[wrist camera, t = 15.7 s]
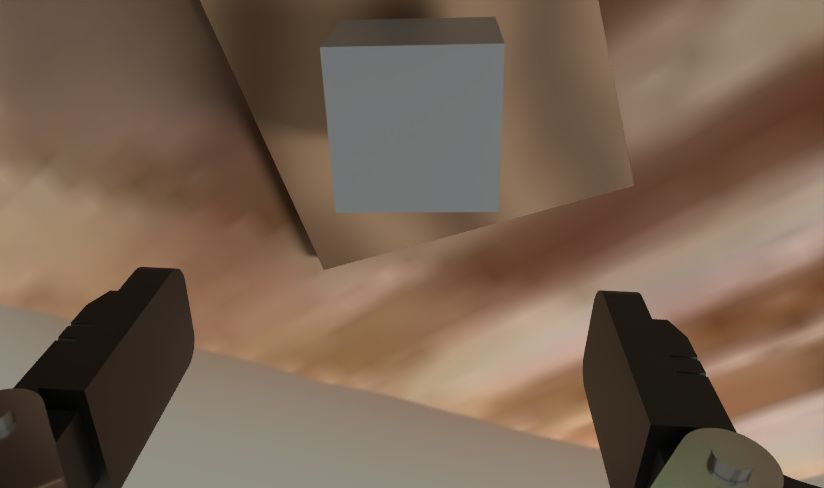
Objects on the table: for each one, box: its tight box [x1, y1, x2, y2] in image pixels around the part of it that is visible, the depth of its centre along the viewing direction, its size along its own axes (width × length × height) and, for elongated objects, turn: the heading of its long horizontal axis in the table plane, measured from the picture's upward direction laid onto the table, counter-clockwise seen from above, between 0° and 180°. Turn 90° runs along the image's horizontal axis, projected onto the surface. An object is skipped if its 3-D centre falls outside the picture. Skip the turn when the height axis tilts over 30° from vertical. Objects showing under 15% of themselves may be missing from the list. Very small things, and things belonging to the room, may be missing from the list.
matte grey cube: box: [320, 17, 505, 213], centre depth 25 cm, size 6×6×5 cm
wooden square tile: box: [200, 0, 634, 270], centre depth 27 cm, size 16×16×8 cm
